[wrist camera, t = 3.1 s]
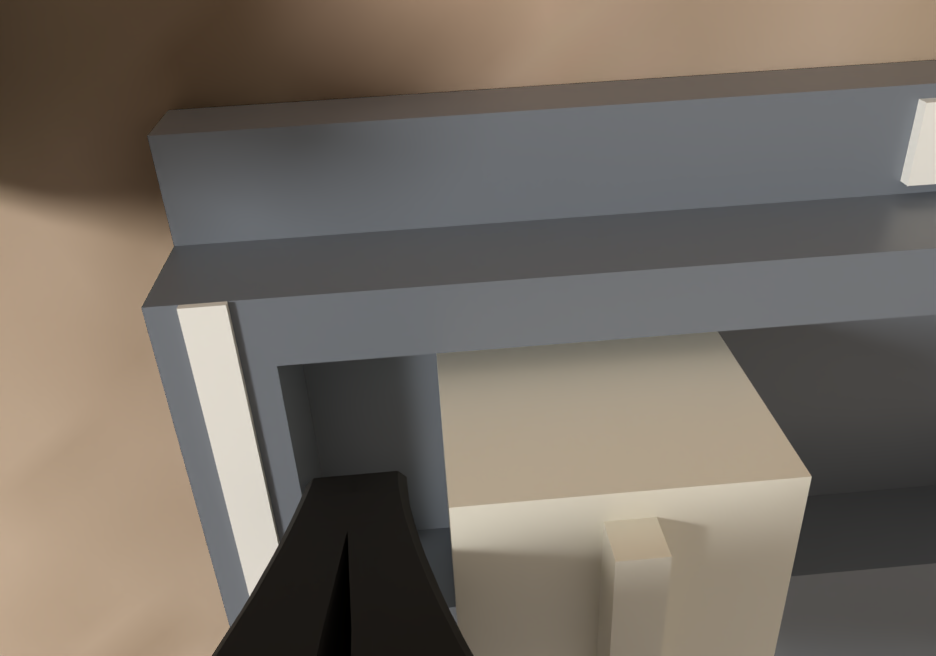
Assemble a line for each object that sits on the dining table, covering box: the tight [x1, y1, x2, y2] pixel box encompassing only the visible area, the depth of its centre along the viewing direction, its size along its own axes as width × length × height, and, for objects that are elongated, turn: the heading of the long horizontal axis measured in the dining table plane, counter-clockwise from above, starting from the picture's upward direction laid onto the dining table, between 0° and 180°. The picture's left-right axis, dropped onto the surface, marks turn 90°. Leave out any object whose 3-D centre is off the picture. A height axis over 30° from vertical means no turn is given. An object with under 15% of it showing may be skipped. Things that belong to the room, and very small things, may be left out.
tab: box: [436, 332, 812, 656], centre depth 12 cm, size 4×4×5 cm
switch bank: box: [142, 60, 936, 656], centre depth 16 cm, size 18×16×3 cm
